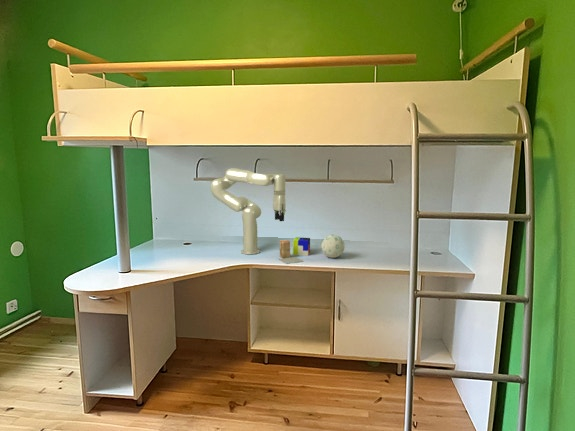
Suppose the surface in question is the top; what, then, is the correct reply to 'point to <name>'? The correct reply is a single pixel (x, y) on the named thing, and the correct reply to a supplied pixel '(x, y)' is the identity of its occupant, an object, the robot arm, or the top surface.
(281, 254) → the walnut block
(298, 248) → the puzzle toy
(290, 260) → the rubber mat
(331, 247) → the puzzle ball
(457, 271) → the top surface
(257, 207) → the robot arm
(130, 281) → the top surface
